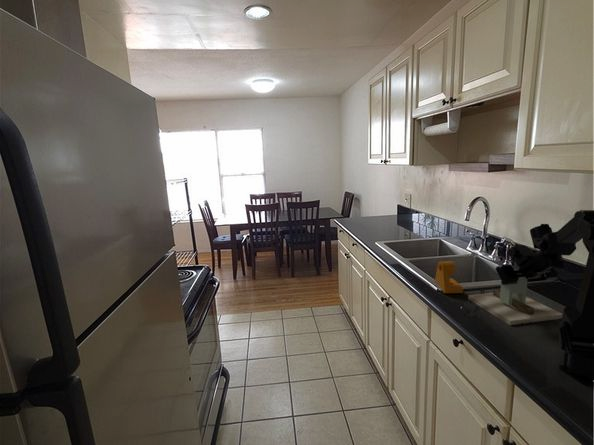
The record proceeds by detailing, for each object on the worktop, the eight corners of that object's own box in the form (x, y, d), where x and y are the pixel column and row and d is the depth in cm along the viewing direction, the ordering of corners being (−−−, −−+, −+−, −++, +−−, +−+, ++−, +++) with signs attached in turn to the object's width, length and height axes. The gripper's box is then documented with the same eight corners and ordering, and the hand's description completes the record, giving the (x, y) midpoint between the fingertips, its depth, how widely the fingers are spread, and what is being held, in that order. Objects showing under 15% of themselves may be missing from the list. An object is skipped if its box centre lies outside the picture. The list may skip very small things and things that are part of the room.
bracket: (463, 295, 126) (465, 265, 124) (444, 295, 127) (445, 266, 125) (452, 284, 137) (453, 257, 135) (434, 284, 138) (436, 257, 135)
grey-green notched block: (525, 303, 112) (528, 274, 110) (508, 305, 111) (510, 276, 109) (515, 298, 116) (518, 270, 114) (499, 300, 115) (501, 272, 113)
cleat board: (562, 318, 106) (563, 308, 105) (509, 325, 103) (510, 315, 102) (513, 293, 125) (514, 285, 124) (468, 299, 123) (468, 290, 122)
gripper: (553, 237, 107) (522, 259, 119) (502, 242, 104) (476, 264, 117) (573, 267, 100) (539, 288, 113) (520, 273, 98) (490, 293, 111)
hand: (510, 282), depth 114 cm, fingers closed on grey-green notched block, 6 cm apart
